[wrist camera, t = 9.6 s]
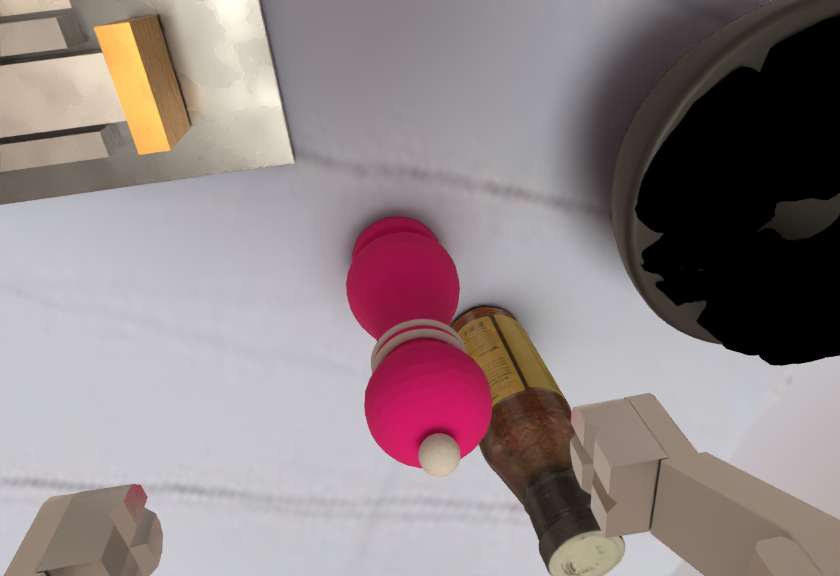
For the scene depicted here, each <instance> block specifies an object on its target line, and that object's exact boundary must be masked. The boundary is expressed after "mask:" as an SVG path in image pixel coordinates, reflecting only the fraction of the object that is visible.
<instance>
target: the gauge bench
mask: <svg viewBox="0 0 840 576" xmlns="http://www.w3.org/2000/svg"><path fill="white" fill-rule="evenodd" d="M151 15H157V17H158V21H159V24H160V27H161V31H162V34H163V37H164V40H165V44H166V47H167V50H168V54H169V57H170V60H171V64H172V67H173V70H174V74H175V77H176V80H177V83H178V87H179V90H180V93H181V97H182V100H183V103H184V107H185V110H186V113H187V117H188V120H189V123H190V127H191V128H190V129H189V130H188V131H187V133H186V134H185V135H184V136H183V137H182V138H181V139H180V141H179V142H178V143H177V144H176V145H175V146H174V147H173V149H172V150H171V151H163V152H156V153H149V154H142V155H139V154H138V151H137V148H136V145H135V142H134V140H133V137H132V134H131V131H130V128H129V125H128V123H127V121H121V122H113V123H106V124H98V125H91V126H84V127H76V128H69V129H62V130H54V131H47V132H39V133H32V134H25V135H17V136H10V137H2V138H0V205H2V204H9V203H16V202H23V201H30V200H37V199H44V198H51V197H58V196H65V195H72V194H79V193H86V192H94V191H101V190H108V189H115V188H122V187H129V186H136V185H143V184H150V183H157V182H164V181H171V180H178V179H185V178H192V177H199V176H206V175H213V174H220V173H227V172H234V171H241V170H248V169H255V168H262V167H269V166H276V165H283V164H290V163H294V161H295V156H294V151H293V147H292V142H291V137H290V133H289V128H288V124H287V119H286V115H285V110H284V105H283V101H282V96H281V92H280V87H279V82H278V78H277V73H276V69H275V64H274V60H273V55H272V50H271V46H270V41H269V37H268V32H267V27H266V23H265V18H264V14H263V9H262V5H261V0H0V62H5V61H12V60H20V59H28V58H36V57H44V56H52V55H59V54H67V53H75V52H83V51H91V50H99V49H101V47H100V44H99V41H98V38H97V35H96V32H95V30H94V27H95V26H99V25H103V24H107V23H111V22H115V21H119V20H123V19H127V18H135V17H143V16H151Z"/></svg>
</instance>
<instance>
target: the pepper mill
mask: <svg viewBox="0 0 840 576" xmlns="http://www.w3.org/2000/svg"><path fill="white" fill-rule="evenodd" d="M346 286H347V296H348V301H349V304H350V308H351V311H352V312H353V314H354V316H355V318H356V319H357V321H358V322H359V324H360V325H361V326H362V327H363V328H364V329H365V330H366V331H367V332H368V333H369V334H370V335H371V336H372V337H374V338H375V339H376V340H377V343H376V345H375V347H374V349H373V352H372V356H371V368H372V376H371V378H370V380H369V383H368V385H367V388H366V391H365V405H364V407H365V416H366V420H367V424H368V427H369V430H370V432H371V434H372V436H373V438H374V439H375V441H376V443H377V444H378V445H379V446H380V447H381V448H382V449H383V450H384V451H385V452H386V453H387V454H388V455H389V456H391V457H392V458H394V459H395V460H397V461H399V462H401V463H403V464H406V465H408V466H413V467H418V468H423V469H424V470H425V471H426V472H427V473H428V474H430V475H432V476H436V477H442V476H447V475H449V474H451V473H452V472H453V471H454V470H455V469H456V468H457V466H458V464H459V461H460V459H461V458H463V457H464V456H466V455H467V454H469V453H470V452H471V451H473V450H474V449H475V447H476V446H477V445H478V444H479V443H480V441H481V440H482V438H483V437H484V435H485V434H486V432H487V430H488V427H489V424H490V421H491V415H492V397H491V391H490V386H489V383H488V380H487V378H486V376H485V374H484V371H483V370H482V369H481V368H480V366H479V365H478V364H477V363H476V361H475V360H474V359H473V358H472V357H470V356H469V355H468V354H467V352H466V349H465V345H464V342H463V340H462V339H461V337H460V336H459V335H458V333H457V332H456V331H455V330H454V329H452V328H451V327H450V323H451V320H452V318H453V316H454V314H455V312H456V309H457V306H458V300H459V290H460V287H459V279H458V275H457V271H456V267H455V264H454V262H453V260H452V258H451V257H450V255H449V254H448V252H447V251H446V250H445V249H444V248H443V247H442V246H441V245H440V244H439V243H438V241H437V239H436V237H435V235H434V234H433V233H432V232H431V230H430V229H428V228H427V227H426V226H425V225H424V224H422V223H420V222H418V221H416V220H413V219H410V218H405V217H393V218H386V219H383V220H380V221H378V222H376V223H374V224H372V225H371V226H369V227H368V228H367V229H366V230H365V231H364V232H363V233H362V234H361V235H360V237H359V238H358V240H357V242H356V244H355V247H354V249H353V256H352V264H351V266H350V269H349V272H348V276H347V282H346Z"/></svg>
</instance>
